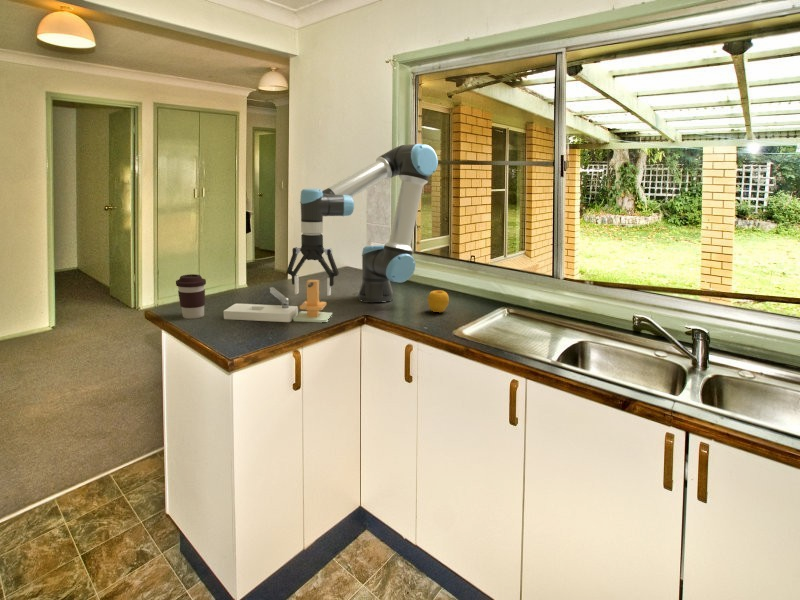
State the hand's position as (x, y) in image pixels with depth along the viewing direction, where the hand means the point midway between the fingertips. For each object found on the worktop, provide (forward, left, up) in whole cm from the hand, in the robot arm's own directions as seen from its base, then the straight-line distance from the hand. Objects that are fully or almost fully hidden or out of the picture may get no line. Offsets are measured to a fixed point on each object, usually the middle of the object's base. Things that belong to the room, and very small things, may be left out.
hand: (313, 294), depth 182 cm
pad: (0, 0, -9) cm, 9 cm away
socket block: (+19, +1, -9) cm, 21 cm away
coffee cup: (+43, +5, -9) cm, 44 cm away
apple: (-45, -16, -9) cm, 49 cm away
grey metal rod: (+16, -10, -4) cm, 19 cm away
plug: (0, 0, -8) cm, 8 cm away
